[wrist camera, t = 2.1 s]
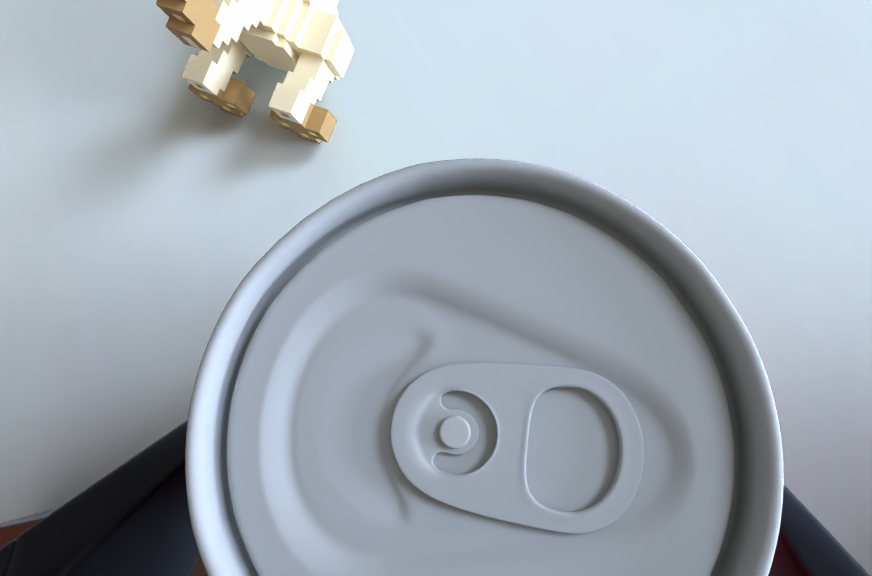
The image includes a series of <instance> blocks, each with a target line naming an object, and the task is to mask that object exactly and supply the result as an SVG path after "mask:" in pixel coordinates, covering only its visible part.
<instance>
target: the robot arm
mask: <svg viewBox="0 0 872 576" xmlns="http://www.w3.org/2000/svg"><path fill="white" fill-rule="evenodd" d="M187 424H188V420H187V421H186V422H184V423H183V424H181V425H180V426H178V427H177V428H175V429H174V430H173V431H171V432H170V433H168V434H167V435H165V436H164V437H162V438H161V439H159V440H158V441H156V442H155V443H154V444H152V445H151V446H149V447H148V448H146V449H145V450H143V451H142V452H140V453H139V454H137V455H136V456H135V457H133V458H132V459H130V460H129V461H127V462H126V463H124V464H123V465H121V466H120V467H118V468H117V469H116V470H114V471H113V472H111V473H110V474H108V475H107V476H105V477H104V478H102V479H101V480H99V481H98V482H97V483H95V484H94V485H92V486H91V487H89V488H88V489H86V490H85V491H83V492H82V493H80V494H79V495H78V496H76V497H75V498H73V499H72V500H70V501H69V502H67V503H66V504H64V505H63V506H61V507H60V508H59V509H57V510H56V511H54V512H53V513H51V514H50V515H48V516H47V517H45V518H44V519H42V520H41V521H40V522H38V523H37V524H35V525H34V526H32V527H31V528H29V529H28V530H26V531H25V532H23V533H22V534H21V535H19V536H18V538H17V540H16V539H14V540H12V541H10V542H9V543H7V544H6V545H4V546H3V547H1V548H0V576H189V575H190V573H191V571H192V569H193V567H194V565H195V563H196V561H197V559H198V557H199V555H200V554H199V550H198V547H197V544H196V540H195V537H194V533H193V530H192V525H191V519H190V514H189V507H188V499H187V490H186V474H185V449H186V432H187ZM768 576H870V575H869V574H868V573H867V572H866V571H865V570H864V569H863V568H862V566H861V565H860V564H859V563H858V562H857V561H856V560H855V559H854V558H853V557H852V556H851V555H850V554H849V553H848V552H847V551H846V550H845V549H844V547H843V546H842V545H841V544H840V543H839V542H838V541H837V540H836V539H835V538H834V537H833V536H832V535H831V534H830V533H829V532H828V531H827V530H826V528H825V527H824V526H823V525H822V524H821V523H820V522H819V521H818V520H817V519H816V518H815V517H814V516H813V515H812V514H811V513H810V512H809V511H808V509H807V508H806V507H805V506H804V505H803V504H802V503H801V502H800V501H799V500H798V499H797V498H796V497H795V496H794V495H793V494H792V493H791V492H790V490H789V489H788V488H787V487H786V486H785V485H783V505H782V513H781V522H780V529H779V534H778V539H777V545H776V549H775V553H774V557H773V561H772V564H771V568H770V571H769V574H768Z"/></svg>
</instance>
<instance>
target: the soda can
mask: <svg viewBox="0 0 872 576" xmlns="http://www.w3.org/2000/svg"><path fill="white" fill-rule="evenodd" d="M185 474H186V490H187V499H188V507H189V514H190V519H191V525H192V530H193V533H194V537H195V540H196V544H197V547H198V550H199V554H200V556H201V559H202V562H203V564H204V567H205V569H206V572H207V574H208V576H768V574H769V571H770V568H771V564H772V561H773V557H774V553H775V549H776V545H777V539H778V534H779V529H780V522H781V513H782V505H783V485H784V474H783V452H782V441H781V434H780V427H779V421H778V415H777V411H776V406H775V402H774V397H773V394H772V390H771V387H770V383H769V380H768V377H767V374H766V371H765V368H764V365H763V363H762V360H761V357H760V355H759V353H758V350H757V348H756V346H755V343H754V341H753V339H752V337H751V335H750V333H749V331H748V329H747V327H746V326H745V324H744V322H743V320H742V318H741V317H740V315H739V313H738V312H737V310H736V309H735V307H734V306H733V304H732V303H731V301H730V300H729V298H728V296H727V295H726V293H725V292H724V291H723V289H722V288H721V286H720V285H719V283H718V282H717V281H716V279H715V278H714V276H713V275H712V274H711V272H710V271H709V270H708V268H707V267H706V266H705V265H704V263H703V262H702V261H701V260H700V259H699V258H698V257H697V256H696V255H695V254H694V253H693V252H692V251H691V250H690V249H689V248H688V247H687V246H686V245H685V244H684V243H683V242H682V241H681V240H680V239H679V238H678V237H676V236H675V235H674V234H673V233H672V232H671V231H670V230H668V229H667V228H666V227H665V226H663V225H662V224H661V223H660V222H658V221H657V220H656V219H654V218H653V217H652V216H650V215H649V214H648V213H646V212H645V211H643V210H642V209H640V208H639V207H637V206H636V205H634V204H632V203H631V202H629V201H627V200H626V199H624V198H622V197H621V196H619V195H617V194H615V193H613V192H611V191H610V190H608V189H606V188H604V187H602V186H600V185H598V184H595V183H593V182H591V181H588V180H586V179H583V178H581V177H578V176H575V175H573V174H570V173H567V172H563V171H560V170H557V169H553V168H549V167H545V166H541V165H536V164H531V163H524V162H517V161H509V160H499V159H455V160H444V161H436V162H428V163H422V164H417V165H414V166H410V167H406V168H403V169H400V170H397V171H394V172H391V173H388V174H385V175H382V176H380V177H377V178H375V179H373V180H370V181H368V182H365V183H363V184H360V185H358V186H357V187H355V188H353V189H351V190H349V191H347V192H345V193H344V194H342V195H340V196H338V197H336V198H334V199H332V200H331V201H329V202H328V203H326V204H325V205H323V206H322V207H320V208H319V209H317V210H316V211H315V212H313V213H312V214H310V215H309V216H307V217H306V218H304V219H303V220H302V221H301V222H299V223H298V224H297V225H296V226H295V227H294V228H292V229H291V230H290V231H289V232H288V233H287V234H286V235H284V236H283V237H282V238H281V239H280V240H279V241H278V242H277V243H276V244H275V245H274V246H273V247H272V248H271V249H270V250H269V251H268V252H267V253H266V254H265V255H264V256H263V257H262V258H261V259H260V260H259V261H258V262H257V263H256V264H255V265H254V267H253V268H252V269H251V270H250V272H249V273H248V274H247V275H246V276H245V278H244V279H243V280H242V281H241V283H240V284H239V286H238V287H237V289H236V290H235V292H234V293H233V295H232V297H231V298H230V300H229V302H228V303H227V305H226V307H225V309H224V310H223V312H222V314H221V316H220V318H219V320H218V322H217V324H216V326H215V328H214V330H213V333H212V335H211V337H210V340H209V342H208V344H207V347H206V350H205V352H204V355H203V358H202V361H201V364H200V367H199V370H198V374H197V377H196V381H195V385H194V389H193V393H192V398H191V404H190V409H189V415H188V424H187V432H186V449H185Z"/></svg>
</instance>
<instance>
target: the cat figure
mask: <svg viewBox="0 0 872 576" xmlns="http://www.w3.org/2000/svg"><path fill="white" fill-rule="evenodd" d="M338 1H339V0H157V2H156V5H157V6H158V7H160V8H161V9H162V10H163V11H164V12H165V13H166V14H167V15H168V16H169V20H168V22H167V24H166V27H167V28H168V29H169V30H170V31H171V32H172V33H173V34H174V35H175V36H176V37H178V38H179V39H180V40H181V41H182V42H183V43H184V44H186V45H189V46H192V47H195V48H198V49H200V51H199V53H198V56H197V55H194V54H191V56H190V58H189V60H188V63H187V65H186V67H185V69H184V72H183V74H182V77H183V78H184V79H185V80H186V81H188V82H189V83H190V85H189V87H188V88H189V89H190V90H191V91H193V92H194V93H195V94H196V95H198V96H199V97H200V98H201V99H203V100H206V101H209V102H212V103H215V104H216V105H217V106H219V107H220V108H221V109H222V110H224V111H227V112H230V113H233V114H236V115H238V116H241V117H242V115H243V113H244V114H247V113H248V111H249V109H250V106H251V104H252V101H253V99H254V97H255V94H256V93H255V92H254V91H253V90H252V89H251V88H250V87H249V86H248V85H247V84H246V83H245V82H242V81H239V80H236V79H233V78H231V75H232V73H235V74H238V73H239V71H240V68H241V66H242V64H243V61H244V59H245V57H246V56H248V57H251V56H252V54H253V55H254V56H255V57H256V58H257V60H261V61H264V62H265V63H266V64H267V66H270V67H273V68H276V69H279V70H283V71H286V72H288V73H287V75H286V78H285V80H284V82H283V83H280V82H278V83H277V86H276V88H275V90H274V93H273V95H272V97H271V100H270V102H269V104H268V106H269V107H270V108H271V109H272V110H271V113H270V115H269V116H270V117H271V118H272V119H273V120H274V121H275V122H276V123H278V124H279V125H280V126H282V127H285V128H288V129H291V130H293V131H295V132H296V133H297V134H298V135H299V136H300V137H302V138H305V139H308V140H311V141H314V142H317V143H319V144H320V142H321V140H322V141H325V142H328V141H329V139H330V136H331V134H332V132H333V129H334V127H335V124H336V122H337V120H336V119H335V117H334V116H333V115H332V114H331V112H330V111H329V110H327V109H324V108H321V107H318V106H315V105H314V104H315V102H316V100H317V101H321V99H322V96H323V94H324V91H325V89H326V87H327V84H328V82H329V83H333V81H334V79H336V80H338V79H339V78H343V76H344V73H345V71H346V69H347V66H348V64H349V61H350V59H351V57H352V54H353V52H354V48H353V46H352V44H351V42H350V39H349V37H348V35H347V33H346V31H345V29H344V28H343V26H342V24H341V22H340V20H339V18H338V17H337V15H338V11H337V9H336V6H337V3H338Z"/></svg>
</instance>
